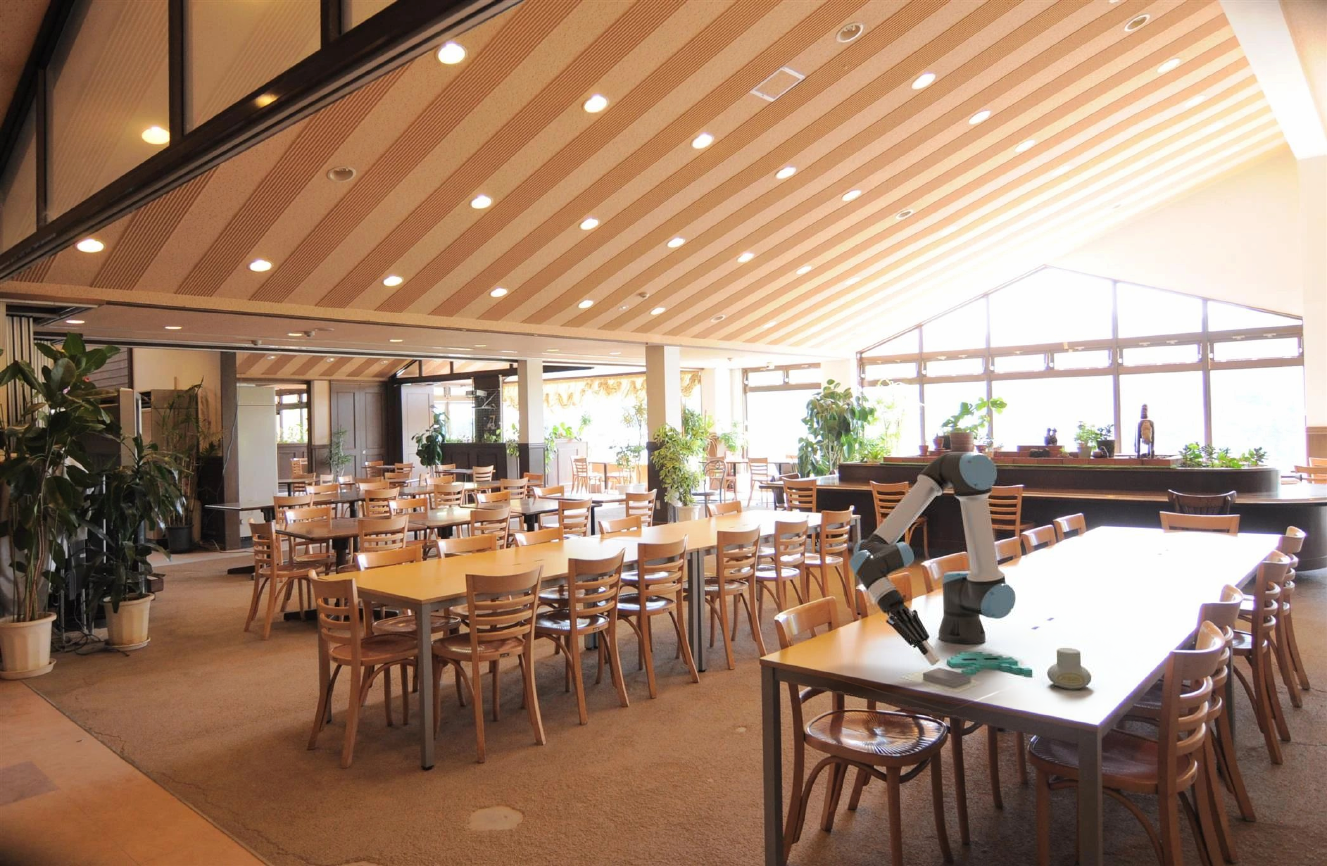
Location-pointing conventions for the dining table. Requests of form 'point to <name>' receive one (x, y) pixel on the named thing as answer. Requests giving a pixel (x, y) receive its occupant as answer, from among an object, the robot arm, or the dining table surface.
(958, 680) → the slate tile
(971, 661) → the alien figure
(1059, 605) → the dining table surface
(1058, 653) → the air freshener
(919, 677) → the felt mat
